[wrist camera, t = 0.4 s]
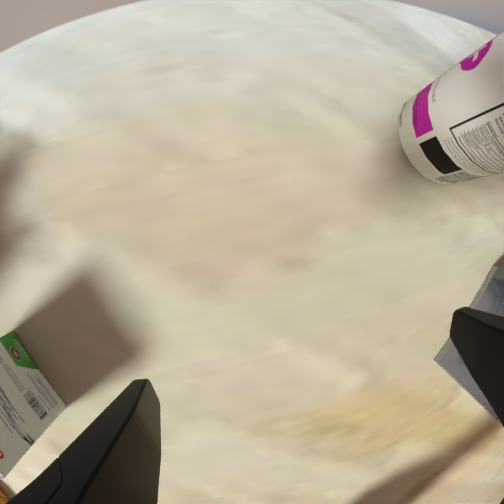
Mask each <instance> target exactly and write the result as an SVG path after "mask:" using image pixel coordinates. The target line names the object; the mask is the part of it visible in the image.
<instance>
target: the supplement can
mask: <svg viewBox="0 0 504 504" xmlns="http://www.w3.org/2000/svg"><path fill="white" fill-rule="evenodd" d="M398 133H399V137H400V141H401V144H402V148H403V150H404V152H405V154H406V155H407V157H408V159H409V161H410V163H411V164H412V165H413V166H414V167H415V168H416V169H417V170H418V171H419V173H420V174H421V175H422V176H424V177H426V178H427V179H429V180H431V181H433V182H435V183H440V184H452V183H456V182H461V181H465V180H470V179H475V178H479V177H484V176H488V175H493V174H498V173H502V172H504V32H502V33H501V34H499V35H498V36H496V37H495V38H494V39H492V40H491V41H489V42H488V43H486V44H485V45H484V46H482V47H481V48H479V49H478V50H477V51H475V52H474V53H472V54H471V55H470V56H468V57H467V58H465V59H464V60H463V61H461V62H460V63H458V64H457V65H456V66H454V67H453V68H452V69H450V70H449V71H447V72H446V73H445V74H443V75H442V76H441V77H439V78H438V79H436V80H435V81H434V82H432V83H431V84H430V85H428V86H427V87H426V88H424V89H423V90H422V91H420V92H419V93H417V94H416V95H415V96H413V97H412V98H411V99H410V100H408V101H407V102H406V103H405V104H404V105H403V107H402V110H401V112H400V114H399V120H398Z"/></svg>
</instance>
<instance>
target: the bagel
mask: <svg viewBox="0 0 504 504" xmlns="http://www.w3.org/2000/svg"><path fill="white" fill-rule="evenodd" d="M8 501H9V500H8V499H7V497H6V495H5V494H4V492H3V491H2V490H1V489H0V504H5V503H7V502H8Z"/></svg>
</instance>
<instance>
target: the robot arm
mask: <svg viewBox="0 0 504 504" xmlns="http://www.w3.org/2000/svg"><path fill="white" fill-rule="evenodd" d="M450 338H451V341H452V342H453V344H454V346H455V348H456V349H457V351H458V353H459V355H460V357H461V358H462V360H463V362H464V364H465V366H466V368H467V369H468V371H469V373H470V375H471V376H472V378H473V379H474V381H475V382H476V384H477V385H478V387H479V388H480V390H481V391H482V393H483V395H484V396H485V398H486V399H487V401H488V402H489V404H490V405H491V407H492V409H493V410H494V412H495V413H496V415H497V417H498V418H499V420H500V422H501V423H502V425H503V427H504V317H503V316H499V315H495V314H492V313H488V312H484V311H480V310H476V309H473V308H469V307H462V308H460V309H457V310H455V311H454V313H453V317H452V323H451V328H450ZM160 462H161V425H160V402H159V399H158V397H157V395H156V393H155V391H154V388H153V386H152V384H151V382H150V381H149V380H148V379H137V380H134V381H132V382H131V383H130V384H129V385H128V386H127V387H126V389H125V390H124V391H123V392H122V393H121V394H120V395H119V396H118V397H117V398H116V399H115V400H114V401H113V402H112V403H111V404H110V405H109V406H108V407H107V408H106V409H105V410H104V411H103V412H102V413H101V414H100V415H99V416H98V417H97V418H96V419H95V420H94V421H93V422H92V423H91V424H90V425H89V426H88V427H87V428H86V429H85V430H84V431H83V432H82V433H81V434H80V435H79V436H78V437H77V438H76V439H75V440H74V441H73V442H72V443H71V444H70V445H69V446H68V447H67V448H66V450H65V451H64V452H63V453H62V454H61V455H60V456H59V458H57V459H56V460H55V461H54V462H53V463H52V464H51V465H50V466H49V467H48V468H46V469H45V470H44V471H43V472H42V473H41V474H40V475H39V476H38V477H37V478H36V479H35V480H34V481H32V482H31V483H30V484H29V485H28V486H26V487H25V488H24V489H23V490H22V491H20V492H19V493H18V494H17V495H15V496H14V497H13V498H12V499H10V500H9V501H8V502H7V503H5V504H157V501H158V487H159V474H160Z"/></svg>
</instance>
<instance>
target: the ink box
mask: <svg viewBox="0 0 504 504" xmlns="http://www.w3.org/2000/svg"><path fill="white" fill-rule="evenodd" d="M65 408H66V405H65V403H64V402H63V400H62V399H61V398H60V397H59V396H58V394H57V393H56V392H55V390H54V389H53V388H52V387H51V385H50V384H49V383H48V381H47V380H46V379H45V377H44V376H43V374H42V373H41V372H40V370H39V369H38V368H37V366H36V365H35V363H34V362H33V360H32V359H31V358H30V356H29V354H28V353H27V351H26V350H25V348H24V347H23V345H22V344H21V342H20V341H19V339H18V337H17V336H16V334H15V333H14V332H13V331H12V332H10V333H8V334H6V335H4V336H2V337H0V480H1V479H4V478H5V477H6V476H7V474H8V473H9V472H10V471H11V470H12V468H13V467H14V466H15V465H16V463H17V462H18V461H19V460H20V459H21V458H22V456H23V455H24V454H25V453H26V452H27V451H28V449H29V448H30V447H31V446H32V445H33V444H34V443H35V441H36V440H37V439H38V438H39V437H40V436H41V435H42V434H43V432H44V431H45V430H46V429H47V428H48V427H49V426H50V424H51V423H52V422H53V421H54V420H55V419H56V418H57V417H58V415H59V414H60V413H61V412H62V411H63V410H64V409H65Z"/></svg>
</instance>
